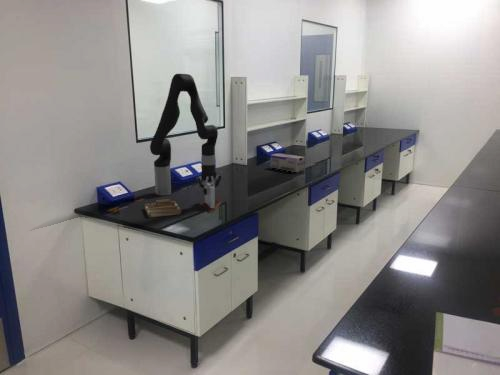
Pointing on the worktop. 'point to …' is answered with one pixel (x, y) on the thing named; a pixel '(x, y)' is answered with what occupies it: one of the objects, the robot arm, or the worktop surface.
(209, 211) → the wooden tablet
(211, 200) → the pvc sheet
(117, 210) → the decorative fence
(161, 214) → the rack
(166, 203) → the offcut upper
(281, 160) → the surgical sutures box
